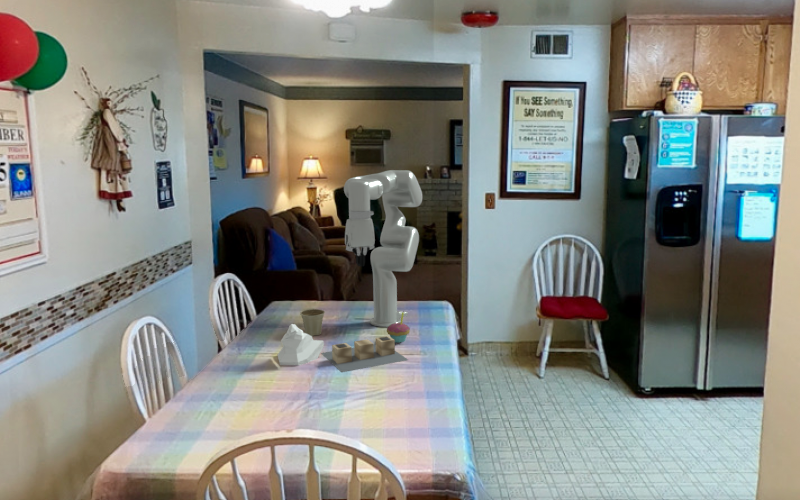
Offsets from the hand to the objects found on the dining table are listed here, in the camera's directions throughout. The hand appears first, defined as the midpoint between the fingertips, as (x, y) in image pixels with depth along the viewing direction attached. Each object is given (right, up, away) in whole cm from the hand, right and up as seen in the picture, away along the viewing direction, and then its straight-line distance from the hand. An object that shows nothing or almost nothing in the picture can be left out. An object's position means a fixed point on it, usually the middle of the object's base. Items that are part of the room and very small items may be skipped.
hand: (360, 265), depth 212 cm
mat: (+2, -31, -12) cm, 34 cm away
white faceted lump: (-20, -32, -14) cm, 41 cm away
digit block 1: (-5, -31, -15) cm, 35 cm away
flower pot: (-20, -27, +15) cm, 37 cm away
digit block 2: (+9, -30, -8) cm, 33 cm away
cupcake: (+14, -29, +5) cm, 32 cm away
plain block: (+2, -31, -12) cm, 33 cm away
